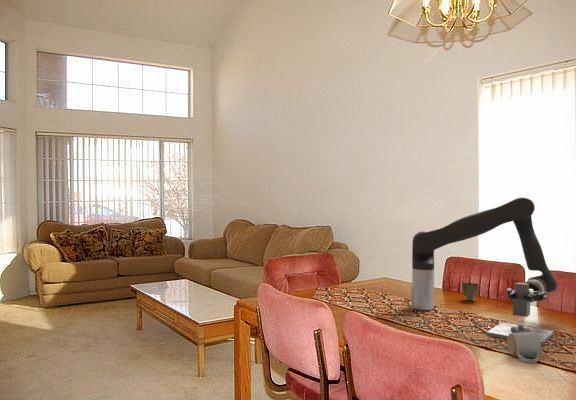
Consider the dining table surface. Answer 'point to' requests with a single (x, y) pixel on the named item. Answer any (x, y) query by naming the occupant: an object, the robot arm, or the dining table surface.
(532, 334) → the ceramic mug
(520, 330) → the base plate
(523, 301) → the knob
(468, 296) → the cup
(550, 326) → the dining table surface
